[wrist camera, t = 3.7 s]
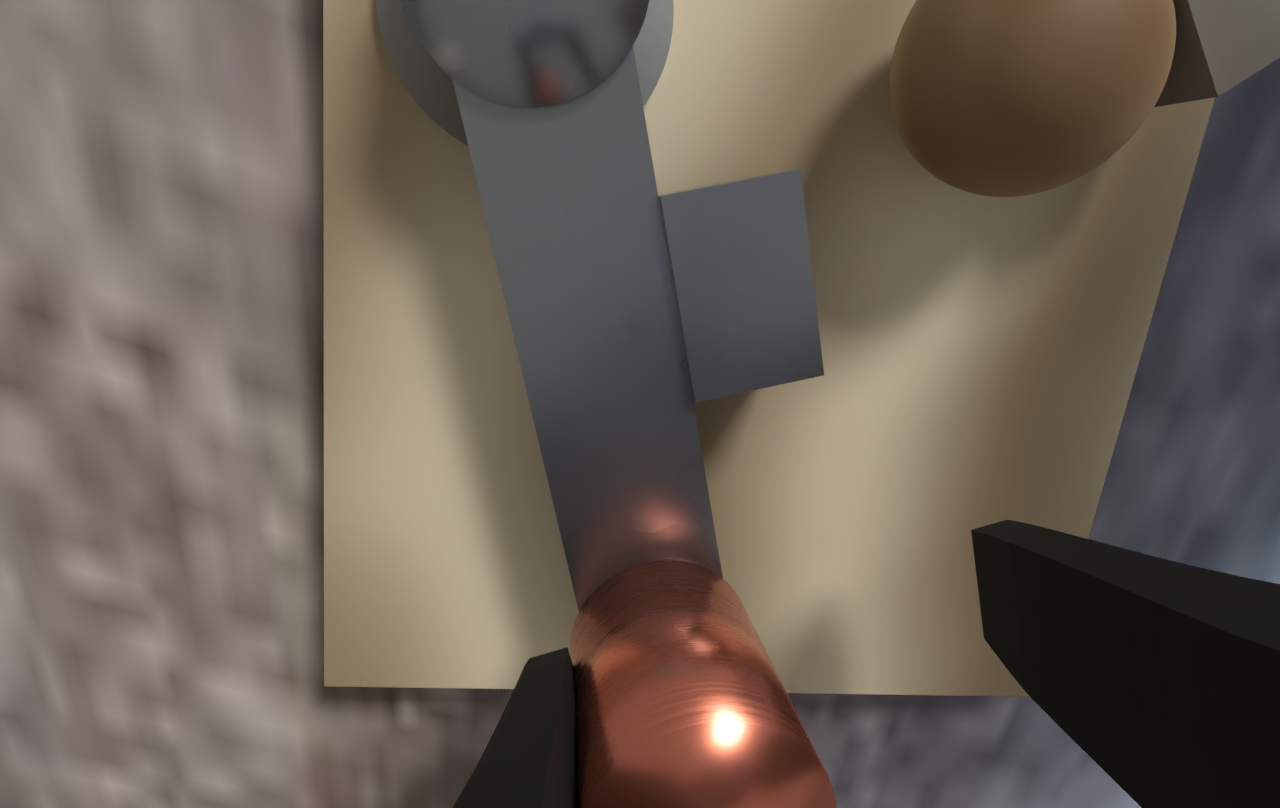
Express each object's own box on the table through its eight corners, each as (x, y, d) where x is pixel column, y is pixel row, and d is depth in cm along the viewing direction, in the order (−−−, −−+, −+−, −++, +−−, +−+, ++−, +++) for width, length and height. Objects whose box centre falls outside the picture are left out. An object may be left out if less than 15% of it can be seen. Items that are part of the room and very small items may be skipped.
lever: (721, -153, 10) (892, -507, 5) (821, 622, 14) (978, 862, 9) (390, -101, 10) (225, -422, 5) (580, 679, 14) (600, 963, 9)
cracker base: (1202, -51, 13) (1553, -188, 9) (1009, 663, 17) (1182, 834, 12) (346, -213, 11) (202, -515, 6) (341, 648, 15) (248, 849, 10)
